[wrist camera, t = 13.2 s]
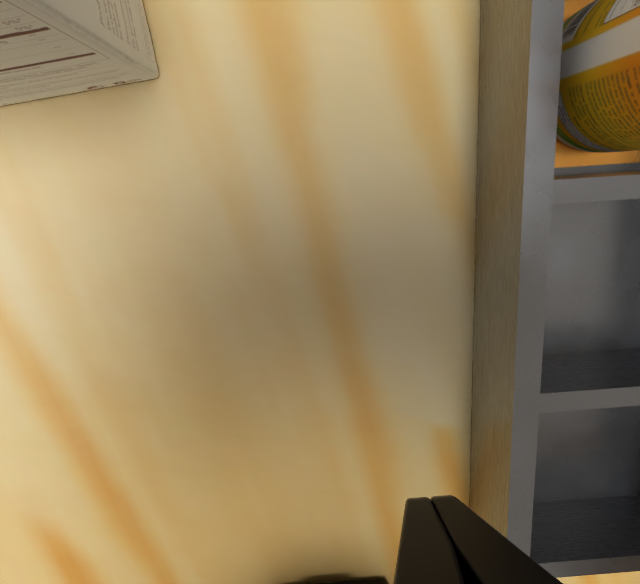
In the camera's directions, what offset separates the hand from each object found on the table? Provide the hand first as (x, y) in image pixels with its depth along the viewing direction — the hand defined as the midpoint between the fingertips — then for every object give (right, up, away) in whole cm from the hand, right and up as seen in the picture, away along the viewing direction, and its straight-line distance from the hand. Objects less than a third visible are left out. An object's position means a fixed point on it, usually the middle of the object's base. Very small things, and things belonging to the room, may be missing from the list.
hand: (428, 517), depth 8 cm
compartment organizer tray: (+9, +5, +13) cm, 16 cm away
